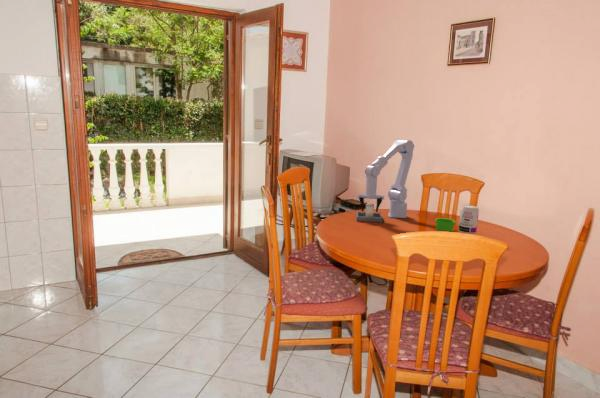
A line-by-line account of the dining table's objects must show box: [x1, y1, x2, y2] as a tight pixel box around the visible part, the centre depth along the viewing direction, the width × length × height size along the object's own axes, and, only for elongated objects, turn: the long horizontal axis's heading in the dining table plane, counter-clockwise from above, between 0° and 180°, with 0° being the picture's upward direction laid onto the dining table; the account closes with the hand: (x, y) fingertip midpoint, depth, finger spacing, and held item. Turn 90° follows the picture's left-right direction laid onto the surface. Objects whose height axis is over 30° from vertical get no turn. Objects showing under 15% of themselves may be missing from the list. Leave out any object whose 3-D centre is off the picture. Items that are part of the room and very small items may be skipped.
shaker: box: [365, 202, 375, 217], centre depth 235 cm, size 4×4×8 cm
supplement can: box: [457, 204, 480, 235], centre depth 208 cm, size 8×8×15 cm
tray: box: [355, 211, 384, 224], centre depth 236 cm, size 14×12×2 cm
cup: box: [434, 217, 456, 233], centre depth 194 cm, size 9×9×11 cm
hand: (369, 211), depth 235 cm, fingers open, 7 cm apart
